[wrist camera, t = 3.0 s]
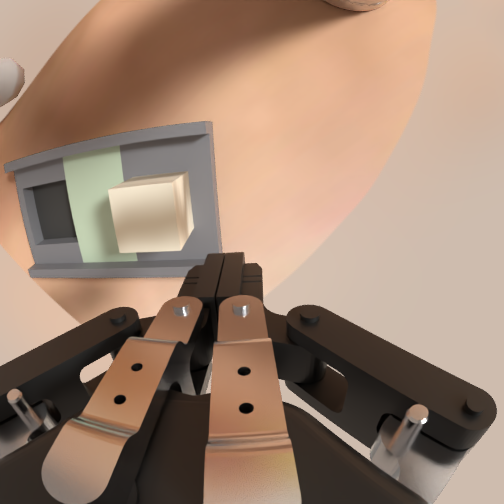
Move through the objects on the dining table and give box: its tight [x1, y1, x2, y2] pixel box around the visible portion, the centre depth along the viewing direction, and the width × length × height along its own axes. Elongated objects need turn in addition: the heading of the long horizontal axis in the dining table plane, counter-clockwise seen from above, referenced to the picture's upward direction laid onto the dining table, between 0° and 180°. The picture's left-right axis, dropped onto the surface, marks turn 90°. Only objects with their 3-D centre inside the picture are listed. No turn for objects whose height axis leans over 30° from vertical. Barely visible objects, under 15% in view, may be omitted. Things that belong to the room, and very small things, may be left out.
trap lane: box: [4, 121, 222, 278], centre depth 26 cm, size 13×22×4 cm, turn 93°
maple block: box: [108, 171, 194, 253], centre depth 23 cm, size 5×5×5 cm
